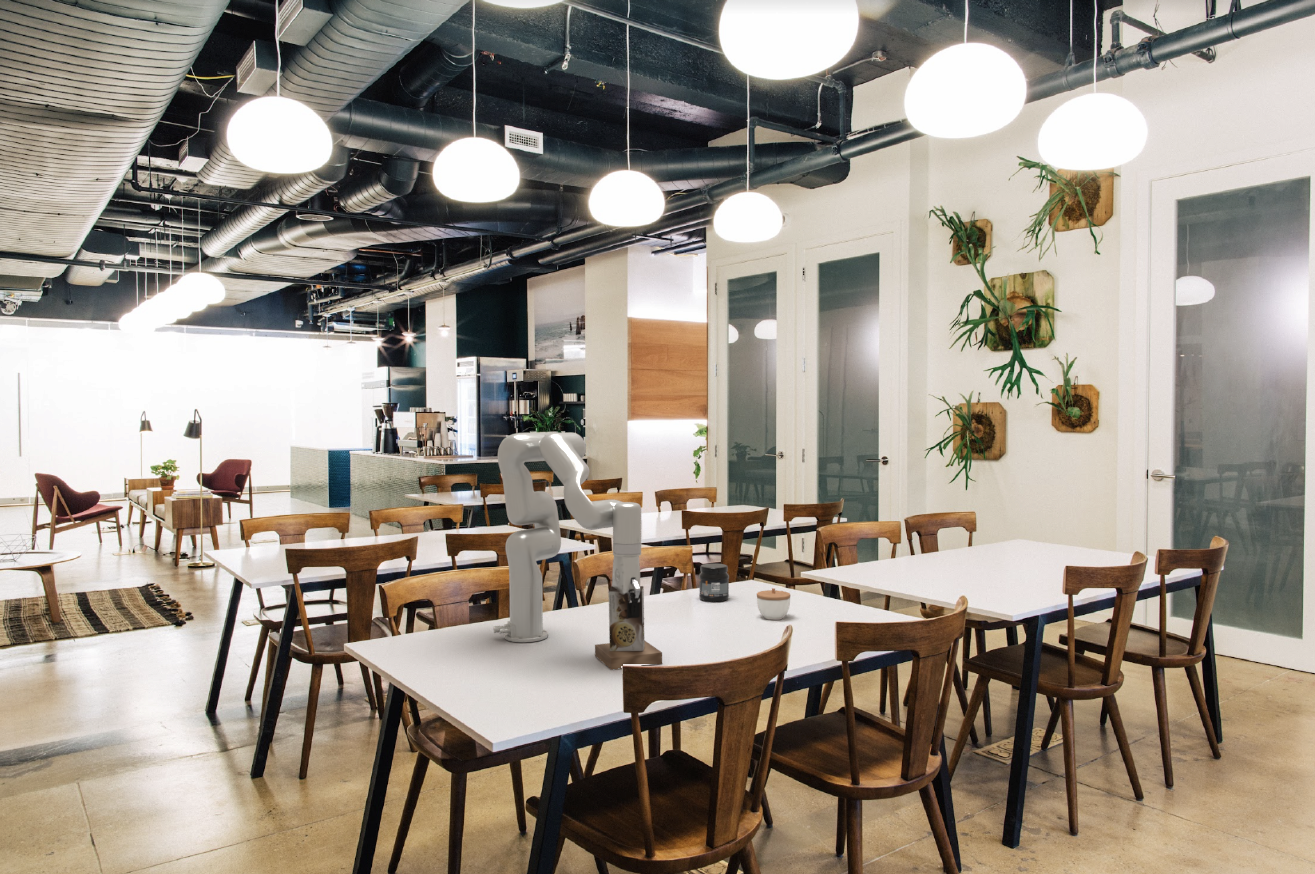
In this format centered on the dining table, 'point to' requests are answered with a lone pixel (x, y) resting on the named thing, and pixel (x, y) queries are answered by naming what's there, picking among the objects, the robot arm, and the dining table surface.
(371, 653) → the dining table surface
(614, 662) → the block
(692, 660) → the dining table surface
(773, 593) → the lidded jar
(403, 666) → the dining table surface
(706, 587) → the supplement container
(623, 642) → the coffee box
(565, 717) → the dining table surface
